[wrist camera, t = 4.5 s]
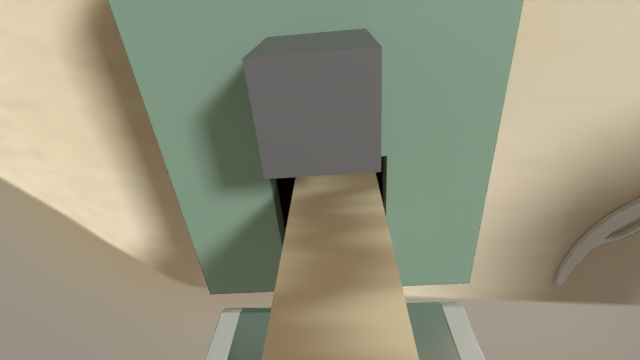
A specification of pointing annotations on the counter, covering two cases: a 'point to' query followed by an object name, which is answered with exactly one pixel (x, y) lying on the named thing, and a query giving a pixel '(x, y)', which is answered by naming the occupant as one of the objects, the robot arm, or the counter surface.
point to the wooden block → (338, 277)
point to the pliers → (600, 237)
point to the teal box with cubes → (324, 118)
